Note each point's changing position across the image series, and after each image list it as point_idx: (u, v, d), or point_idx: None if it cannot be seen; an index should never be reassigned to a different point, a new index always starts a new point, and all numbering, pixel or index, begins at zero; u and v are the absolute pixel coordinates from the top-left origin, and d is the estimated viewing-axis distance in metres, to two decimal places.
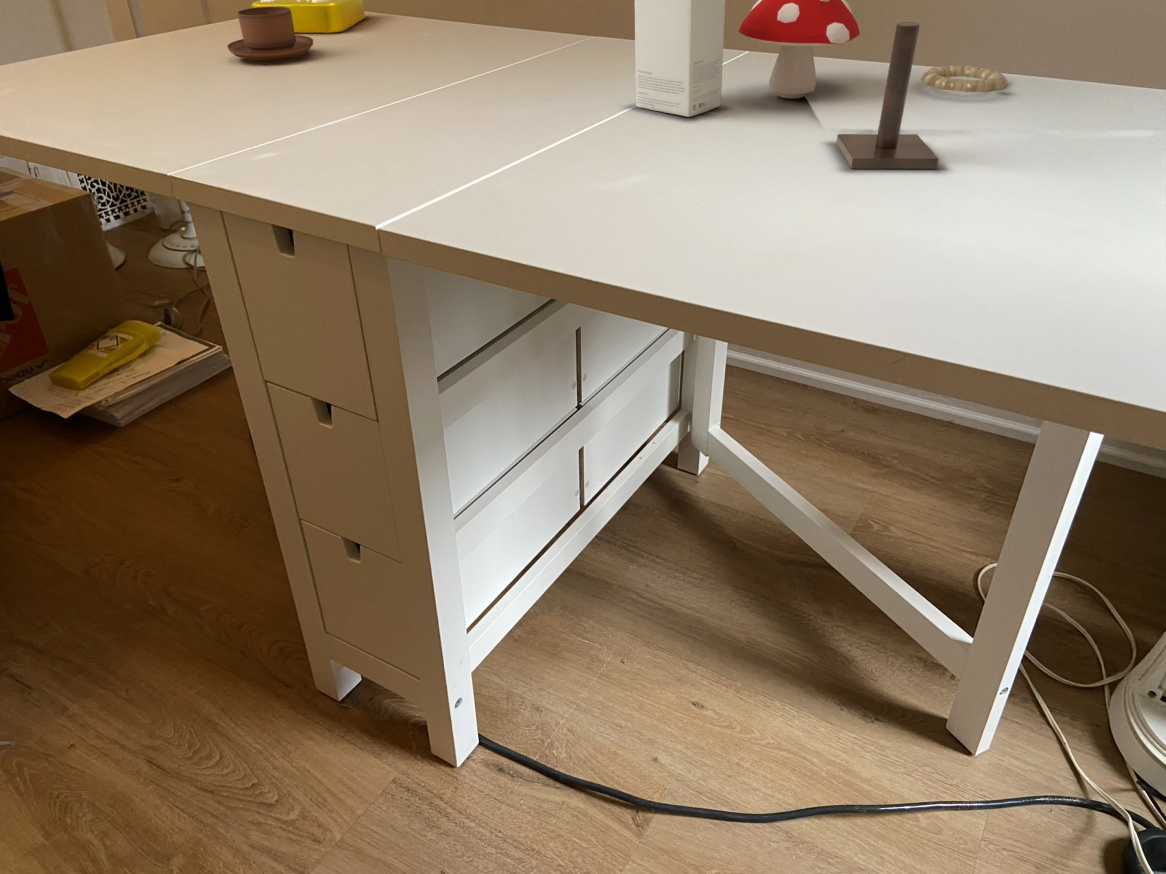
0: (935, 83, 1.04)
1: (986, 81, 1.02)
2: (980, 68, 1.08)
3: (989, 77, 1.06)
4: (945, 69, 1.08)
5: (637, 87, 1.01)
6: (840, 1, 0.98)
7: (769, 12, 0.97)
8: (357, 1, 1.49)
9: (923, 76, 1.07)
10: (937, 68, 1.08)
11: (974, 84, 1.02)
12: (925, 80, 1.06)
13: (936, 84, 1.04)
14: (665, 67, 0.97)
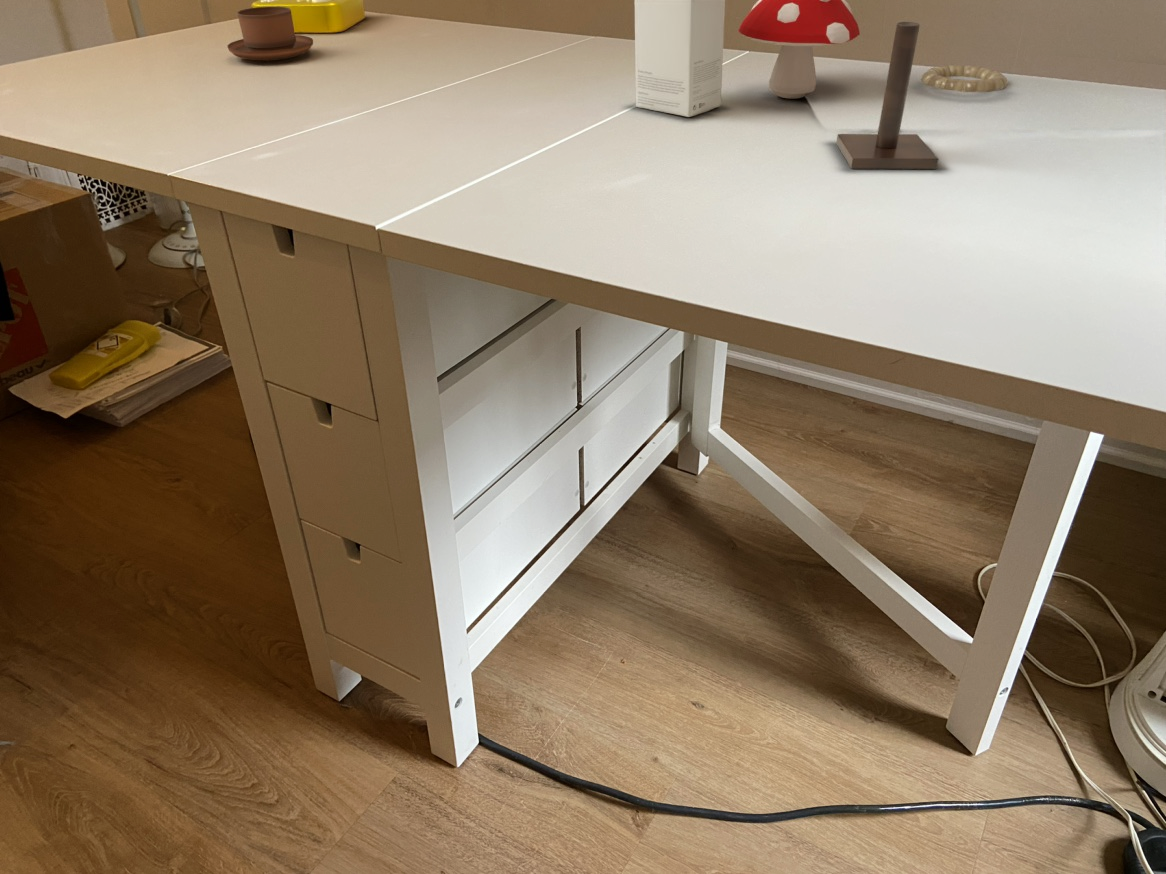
0: (935, 83, 1.04)
1: (986, 81, 1.02)
2: (980, 68, 1.08)
3: (989, 77, 1.06)
4: (945, 69, 1.08)
5: (637, 87, 1.01)
6: (840, 1, 0.98)
7: (769, 12, 0.97)
8: (357, 1, 1.49)
9: (923, 76, 1.07)
10: (937, 68, 1.08)
11: (974, 84, 1.02)
12: (925, 80, 1.06)
13: (936, 84, 1.04)
14: (665, 67, 0.97)
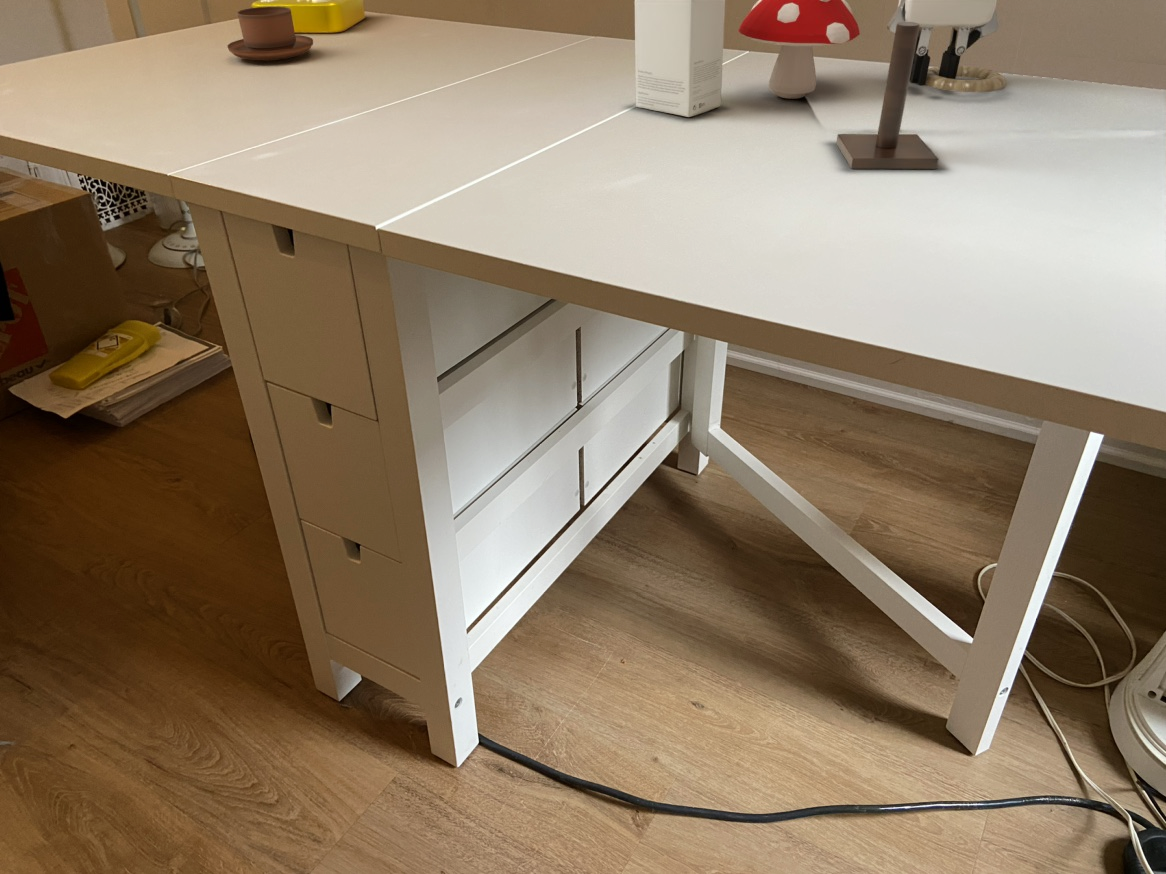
0: (933, 83, 1.04)
1: (984, 81, 1.02)
2: (978, 68, 1.08)
3: (987, 77, 1.06)
4: None
5: (637, 87, 1.01)
6: (840, 1, 0.98)
7: (769, 12, 0.97)
8: (357, 1, 1.49)
9: None
10: (935, 68, 1.08)
11: (972, 84, 1.02)
12: None
13: (934, 84, 1.04)
14: (665, 67, 0.97)
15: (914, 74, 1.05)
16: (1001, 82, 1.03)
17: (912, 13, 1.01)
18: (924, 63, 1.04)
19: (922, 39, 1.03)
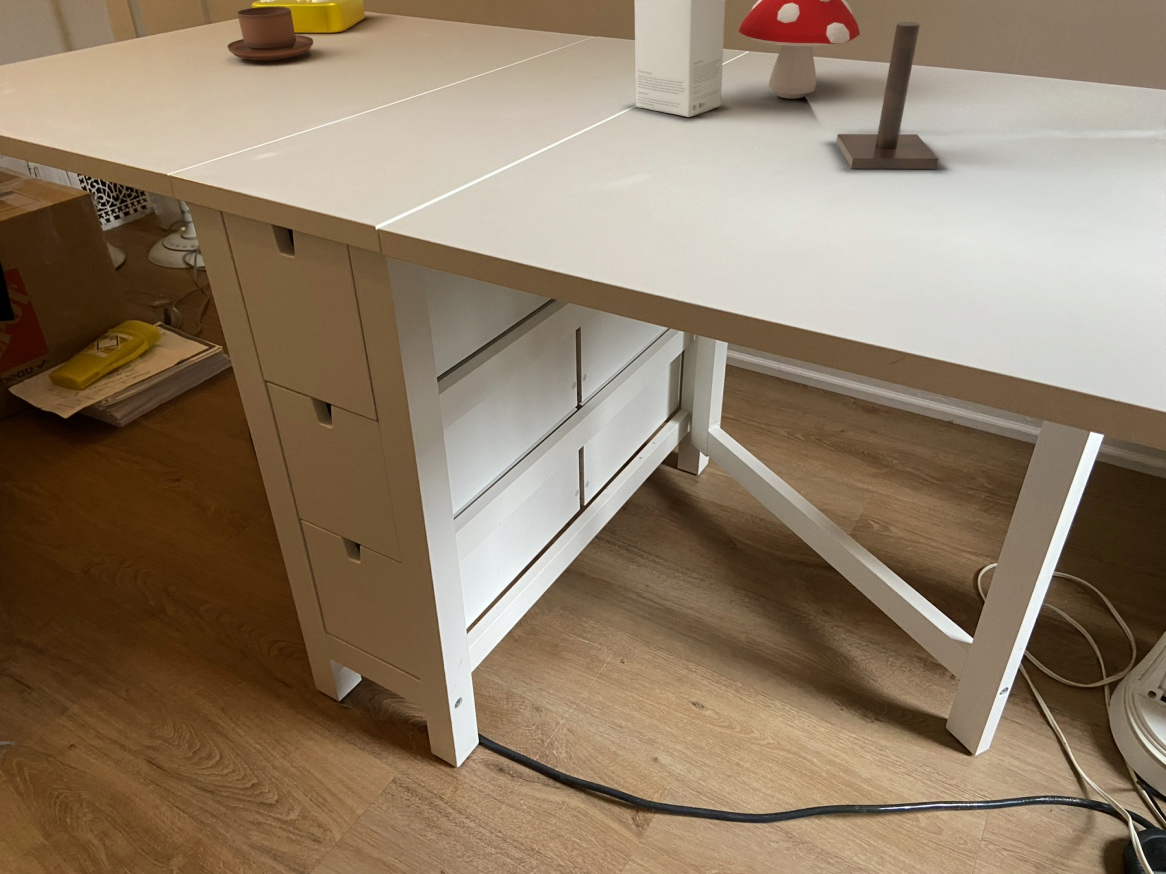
0: None
1: None
2: None
3: None
4: None
5: (637, 87, 1.01)
6: (840, 1, 0.98)
7: (769, 12, 0.97)
8: (357, 1, 1.49)
9: None
10: None
11: None
12: None
13: None
14: (665, 67, 0.97)
15: None
16: None
17: None
18: None
19: None
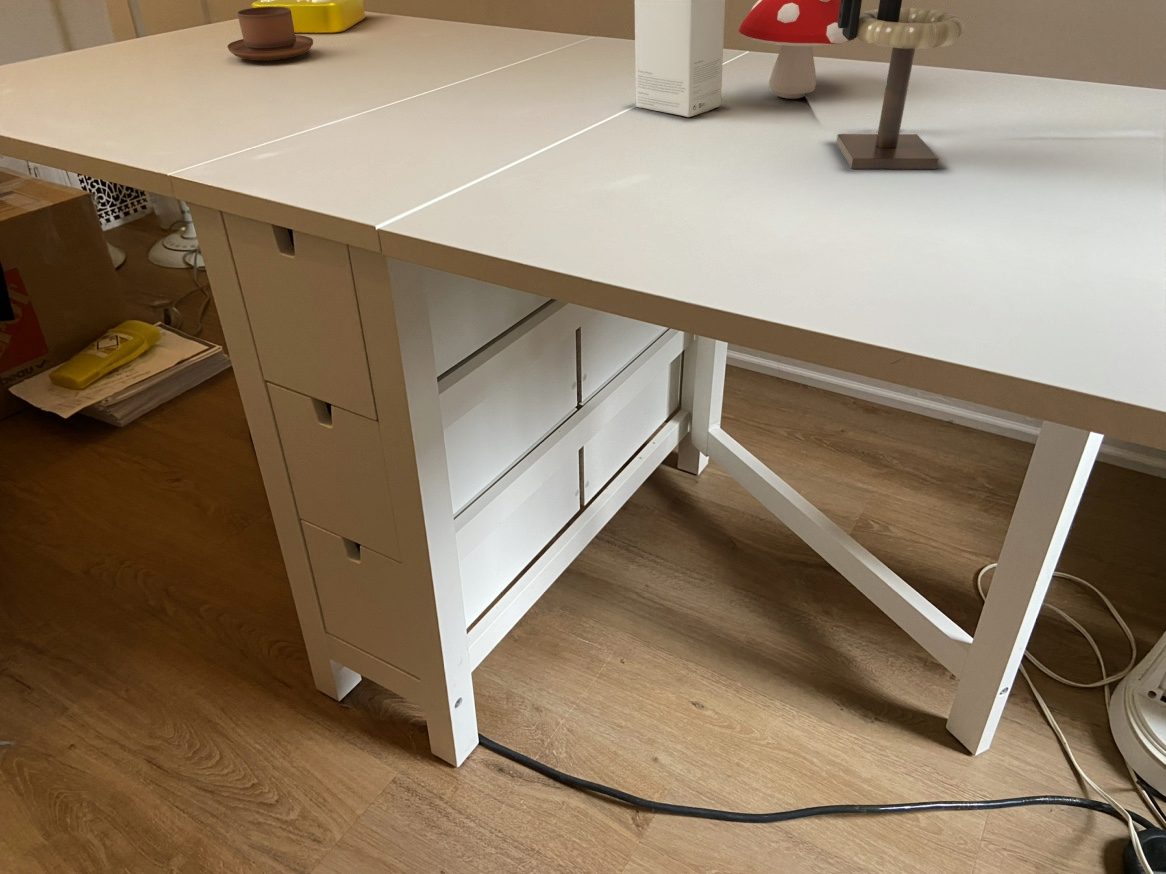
0: (868, 28, 0.78)
1: (935, 24, 0.76)
2: (930, 11, 0.81)
3: (941, 21, 0.79)
4: None
5: (637, 87, 1.01)
6: None
7: (769, 12, 0.97)
8: (357, 1, 1.49)
9: None
10: (873, 11, 0.81)
11: (918, 28, 0.76)
12: None
13: (869, 30, 0.78)
14: (665, 67, 0.97)
15: (843, 17, 0.79)
16: (958, 26, 0.77)
17: None
18: (855, 1, 0.77)
19: None
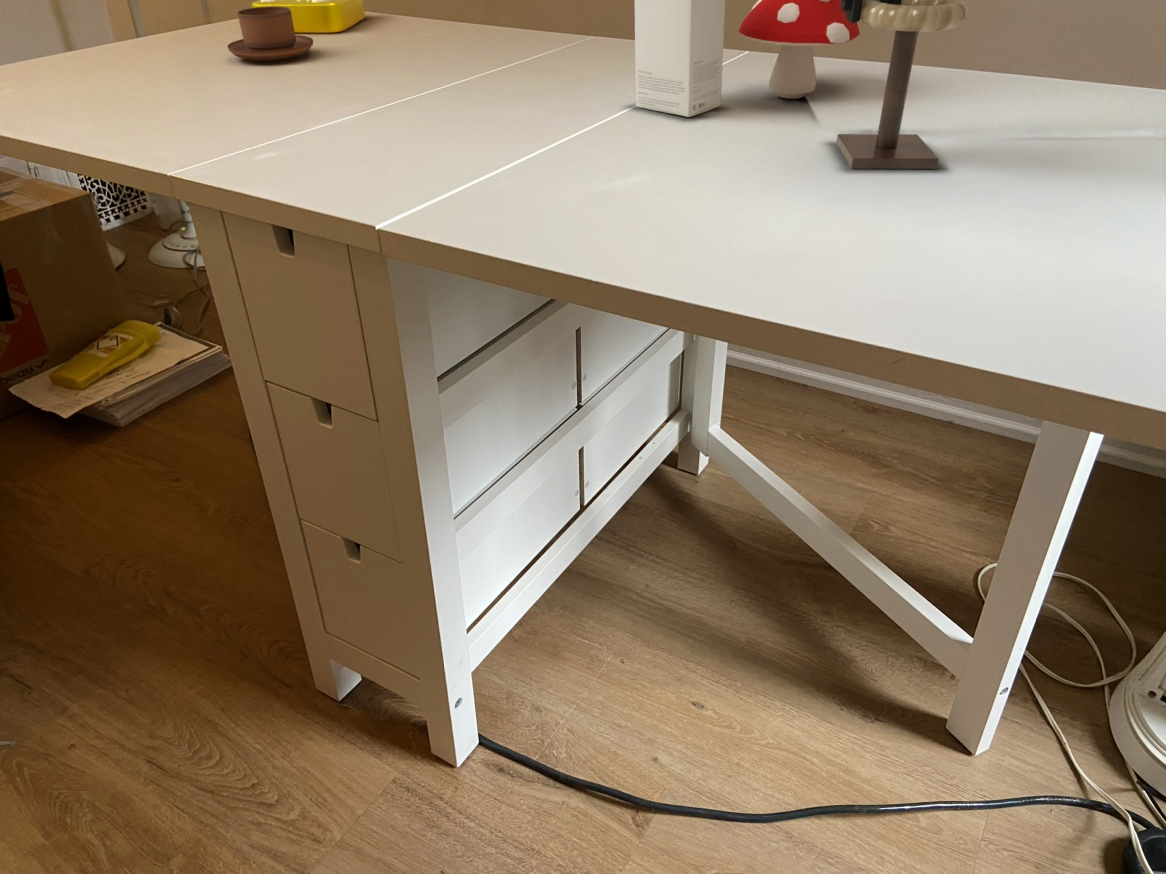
0: (871, 11, 0.77)
1: (939, 7, 0.75)
2: None
3: (945, 4, 0.78)
4: None
5: (637, 87, 1.01)
6: (840, 1, 0.98)
7: (769, 12, 0.97)
8: (357, 1, 1.49)
9: None
10: None
11: (922, 10, 0.75)
12: None
13: (872, 12, 0.77)
14: (665, 67, 0.97)
15: (846, 0, 0.78)
16: (962, 9, 0.76)
17: None
18: None
19: None
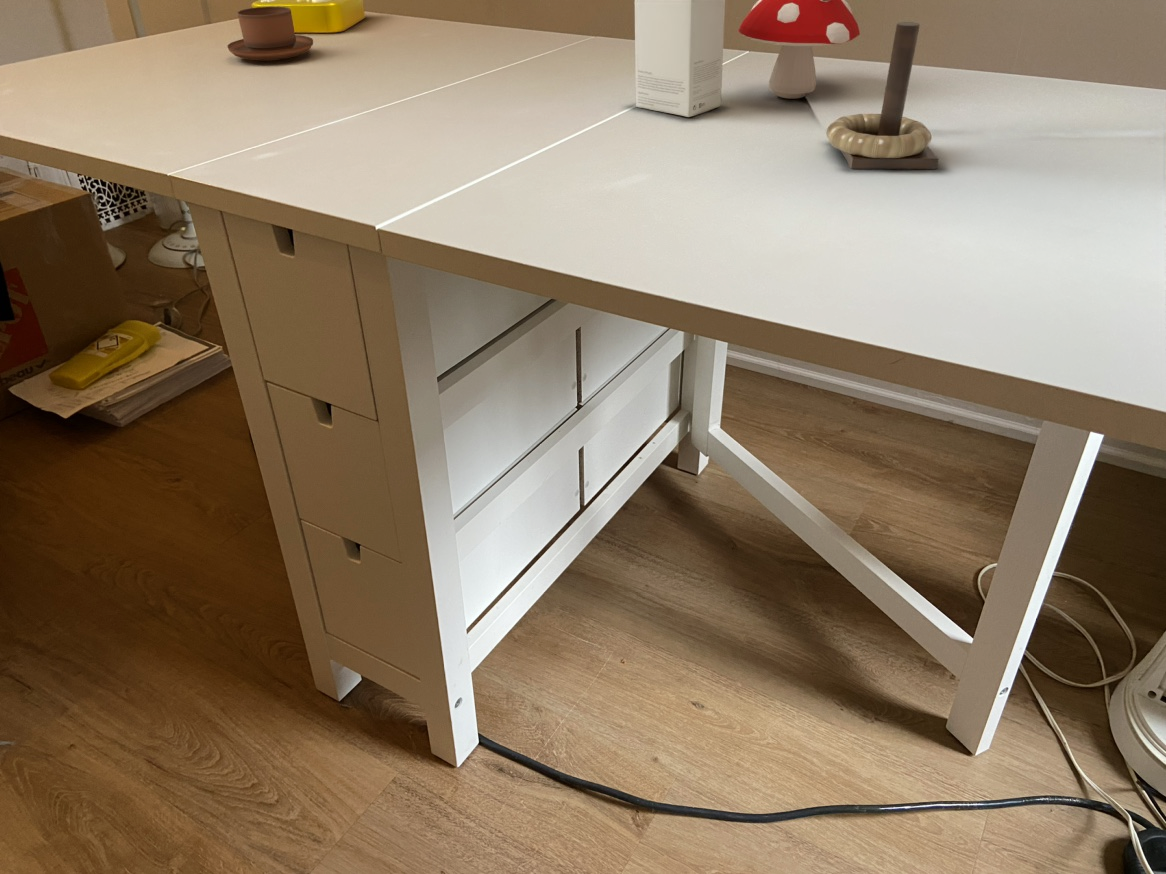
0: (841, 138, 0.84)
1: (903, 137, 0.82)
2: None
3: (910, 130, 0.85)
4: (857, 119, 0.87)
5: (637, 87, 1.01)
6: (840, 1, 0.98)
7: (769, 12, 0.97)
8: (357, 1, 1.49)
9: (829, 128, 0.86)
10: (847, 118, 0.87)
11: (887, 141, 0.81)
12: (830, 133, 0.85)
13: (842, 140, 0.83)
14: (665, 67, 0.97)
15: None
16: (924, 138, 0.82)
17: None
18: None
19: None
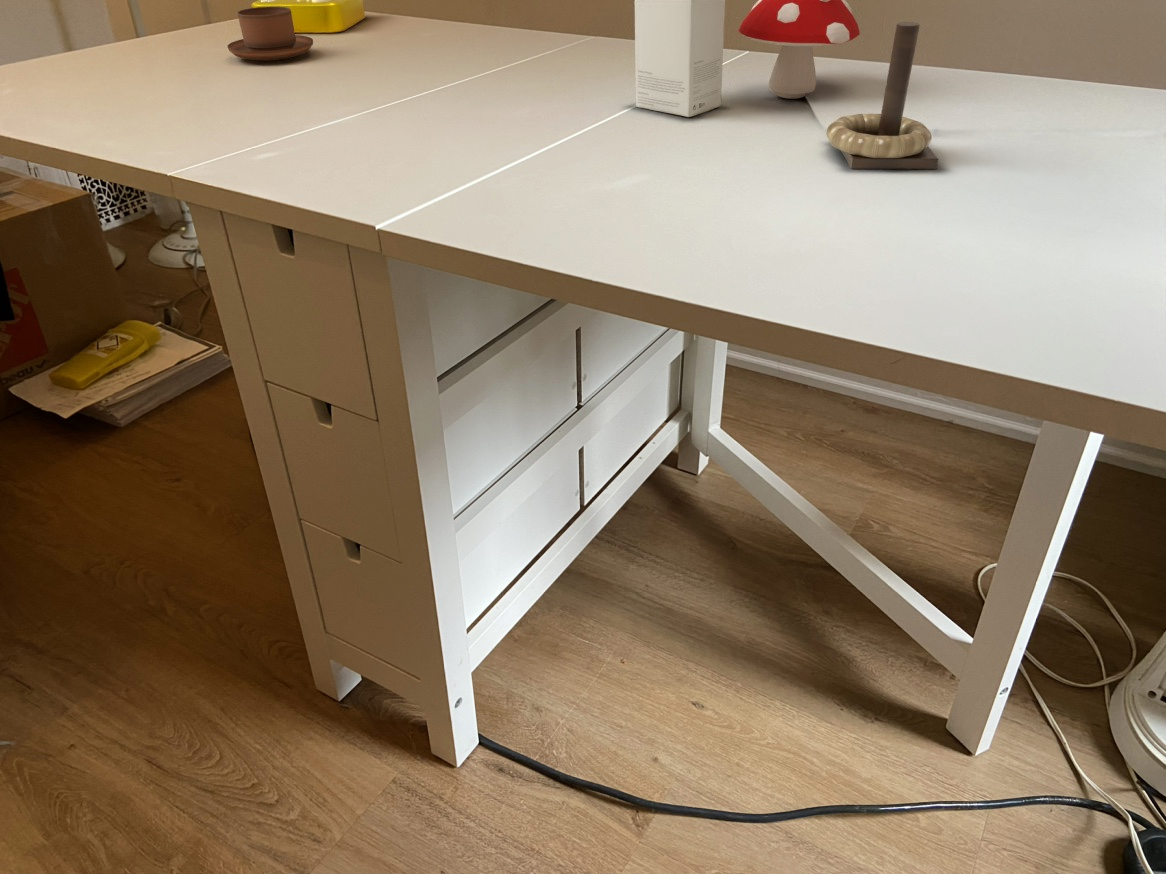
0: (841, 138, 0.84)
1: (903, 137, 0.82)
2: None
3: (910, 130, 0.85)
4: (857, 119, 0.87)
5: (637, 87, 1.01)
6: (840, 1, 0.98)
7: (769, 12, 0.97)
8: (357, 1, 1.49)
9: (829, 128, 0.86)
10: (847, 118, 0.87)
11: (887, 141, 0.81)
12: (830, 133, 0.85)
13: (842, 140, 0.83)
14: (665, 67, 0.97)
15: None
16: (924, 138, 0.82)
17: None
18: None
19: None
